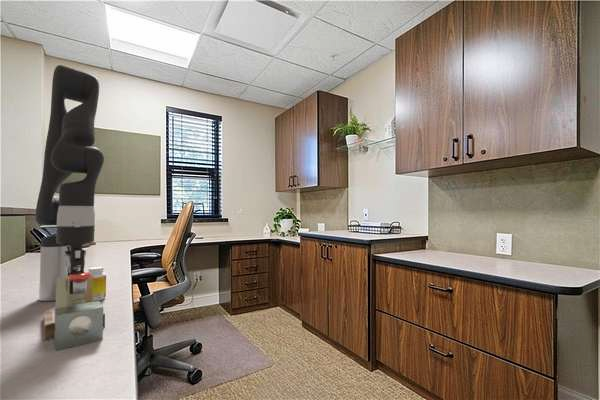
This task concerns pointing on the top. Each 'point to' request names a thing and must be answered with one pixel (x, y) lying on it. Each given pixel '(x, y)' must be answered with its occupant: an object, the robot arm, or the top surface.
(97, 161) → the robot arm
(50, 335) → the rail
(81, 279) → the button
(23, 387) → the top surface
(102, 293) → the supplement bottle
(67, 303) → the skincare box
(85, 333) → the cabinet
